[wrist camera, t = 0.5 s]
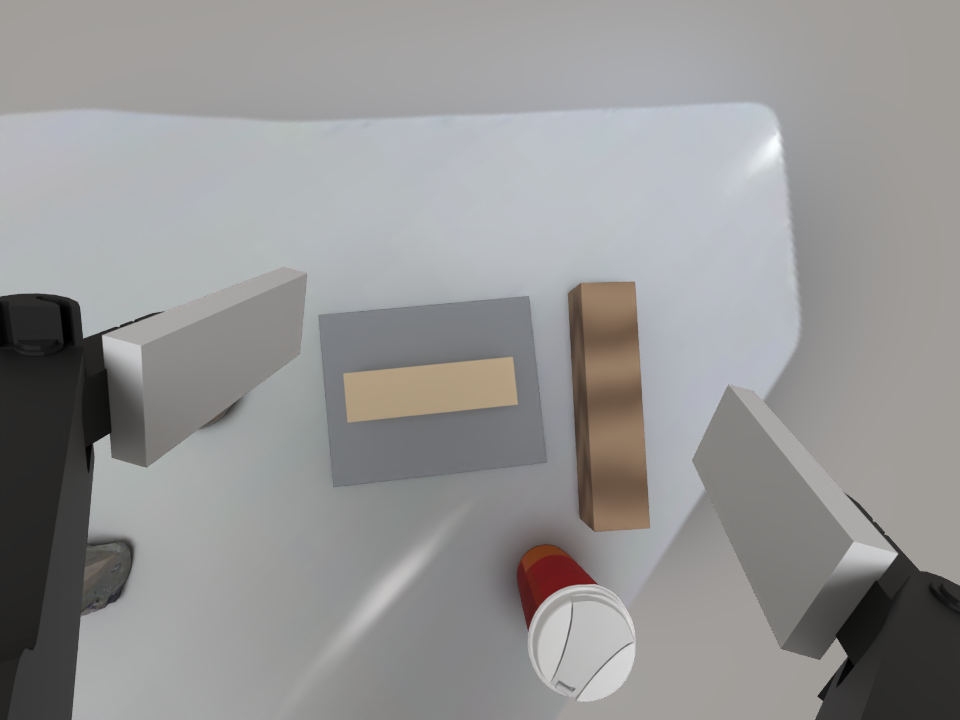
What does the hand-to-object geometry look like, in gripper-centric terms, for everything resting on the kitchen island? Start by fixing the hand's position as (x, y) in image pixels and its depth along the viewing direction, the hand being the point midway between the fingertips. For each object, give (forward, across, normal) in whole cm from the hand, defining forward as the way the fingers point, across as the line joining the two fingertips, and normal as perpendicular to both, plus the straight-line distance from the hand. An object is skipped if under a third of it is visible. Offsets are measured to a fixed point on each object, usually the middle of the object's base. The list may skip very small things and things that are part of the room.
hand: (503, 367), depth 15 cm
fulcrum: (+28, +6, +16) cm, 33 cm away
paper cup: (+23, -9, +29) cm, 38 cm away
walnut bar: (+31, -10, +14) cm, 36 cm away
